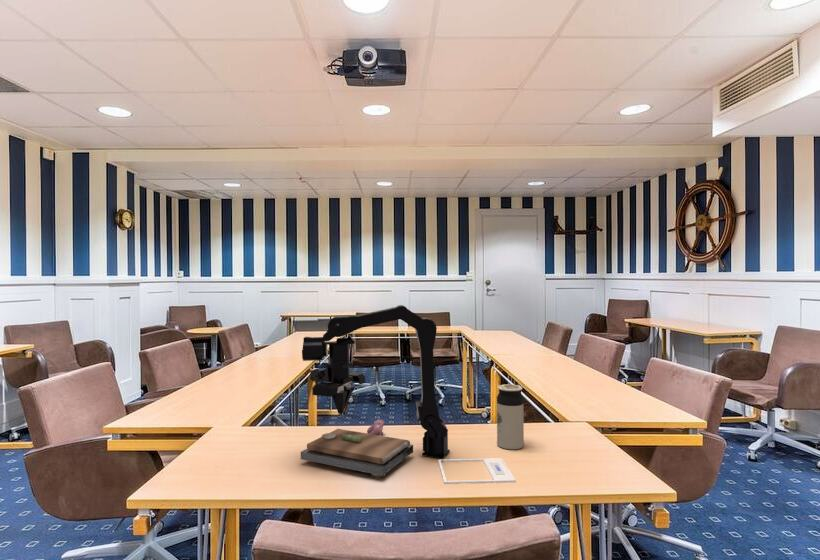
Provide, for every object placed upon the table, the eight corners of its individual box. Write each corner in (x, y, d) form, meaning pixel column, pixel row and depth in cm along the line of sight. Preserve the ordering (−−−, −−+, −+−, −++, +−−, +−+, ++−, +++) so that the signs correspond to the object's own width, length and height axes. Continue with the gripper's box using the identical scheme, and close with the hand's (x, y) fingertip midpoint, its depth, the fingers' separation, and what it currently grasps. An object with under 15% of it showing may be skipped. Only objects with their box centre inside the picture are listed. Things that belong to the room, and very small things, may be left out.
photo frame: (515, 479, 115) (444, 481, 114) (515, 484, 115) (444, 485, 114) (501, 457, 130) (437, 458, 129) (501, 461, 130) (438, 462, 129)
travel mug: (521, 441, 145) (521, 384, 145) (525, 450, 137) (525, 390, 137) (496, 440, 145) (495, 383, 145) (498, 449, 137) (498, 389, 138)
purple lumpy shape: (375, 448, 143) (385, 428, 143) (362, 442, 143) (372, 422, 143) (378, 438, 153) (387, 419, 153) (366, 432, 153) (375, 413, 153)
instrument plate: (410, 445, 131) (410, 434, 131) (384, 464, 117) (384, 451, 117) (337, 433, 142) (337, 422, 142) (306, 449, 128) (306, 437, 128)
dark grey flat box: (413, 457, 132) (413, 444, 132) (382, 481, 116) (382, 467, 116) (338, 443, 143) (337, 432, 143) (300, 464, 127) (300, 451, 127)
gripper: (335, 353, 144) (336, 403, 144) (295, 363, 128) (297, 419, 128) (365, 355, 140) (367, 406, 139) (328, 365, 123) (330, 424, 123)
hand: (340, 413), depth 132 cm, fingers closed
